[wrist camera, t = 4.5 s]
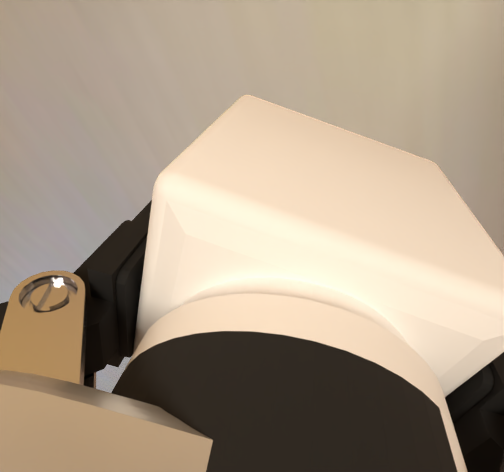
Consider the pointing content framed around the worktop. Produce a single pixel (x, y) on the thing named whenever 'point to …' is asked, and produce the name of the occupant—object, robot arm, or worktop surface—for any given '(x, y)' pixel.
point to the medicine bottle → (312, 298)
